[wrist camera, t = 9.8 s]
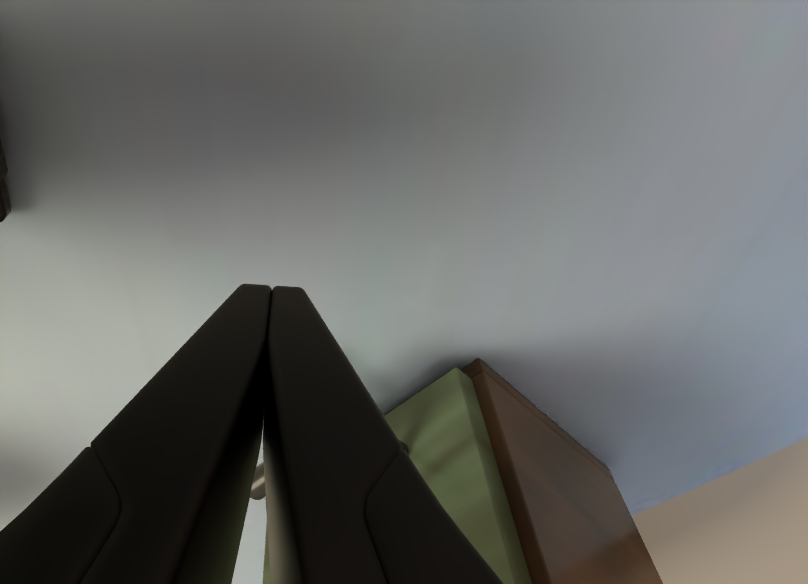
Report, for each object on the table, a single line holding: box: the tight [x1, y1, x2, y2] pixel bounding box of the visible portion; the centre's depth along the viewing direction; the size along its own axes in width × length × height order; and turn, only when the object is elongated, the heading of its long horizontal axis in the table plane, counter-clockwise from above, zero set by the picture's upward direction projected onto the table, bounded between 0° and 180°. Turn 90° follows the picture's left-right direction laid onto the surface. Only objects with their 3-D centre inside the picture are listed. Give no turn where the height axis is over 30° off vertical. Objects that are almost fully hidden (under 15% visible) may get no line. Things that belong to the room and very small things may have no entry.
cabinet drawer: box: [250, 367, 532, 584], centre depth 25 cm, size 15×12×10 cm
